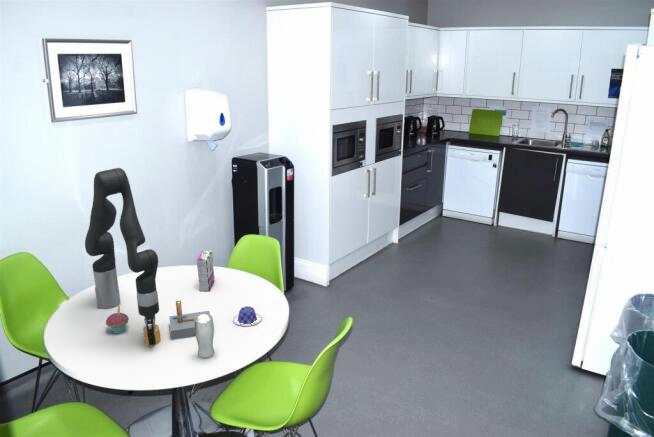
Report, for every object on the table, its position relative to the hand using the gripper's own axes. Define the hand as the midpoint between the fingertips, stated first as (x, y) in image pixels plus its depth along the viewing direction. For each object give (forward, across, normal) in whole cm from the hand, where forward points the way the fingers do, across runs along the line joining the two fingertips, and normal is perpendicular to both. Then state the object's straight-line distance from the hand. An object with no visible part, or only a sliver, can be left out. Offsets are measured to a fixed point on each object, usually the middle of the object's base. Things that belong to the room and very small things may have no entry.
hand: (152, 339), depth 202 cm
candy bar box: (+1, -43, +25) cm, 50 cm away
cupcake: (+1, -13, -13) cm, 18 cm away
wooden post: (-3, -5, +11) cm, 13 cm away
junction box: (+1, -5, +15) cm, 16 cm away
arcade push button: (+1, 0, 0) cm, 1 cm away
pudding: (+1, -6, +38) cm, 38 cm away
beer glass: (+1, +15, +19) cm, 24 cm away
